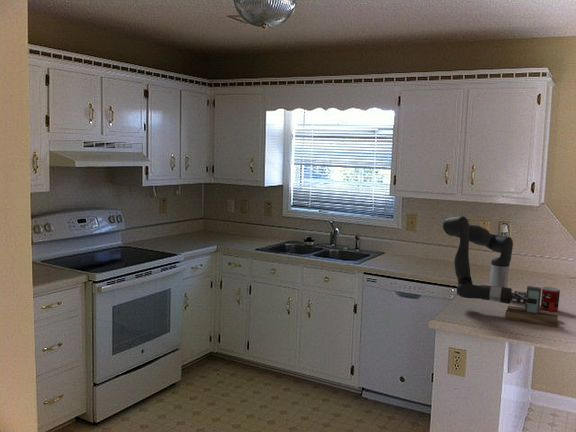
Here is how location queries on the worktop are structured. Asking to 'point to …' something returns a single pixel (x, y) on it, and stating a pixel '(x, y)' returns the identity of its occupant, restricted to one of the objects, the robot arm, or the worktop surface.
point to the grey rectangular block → (533, 294)
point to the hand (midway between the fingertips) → (537, 299)
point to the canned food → (550, 299)
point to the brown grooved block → (531, 316)
